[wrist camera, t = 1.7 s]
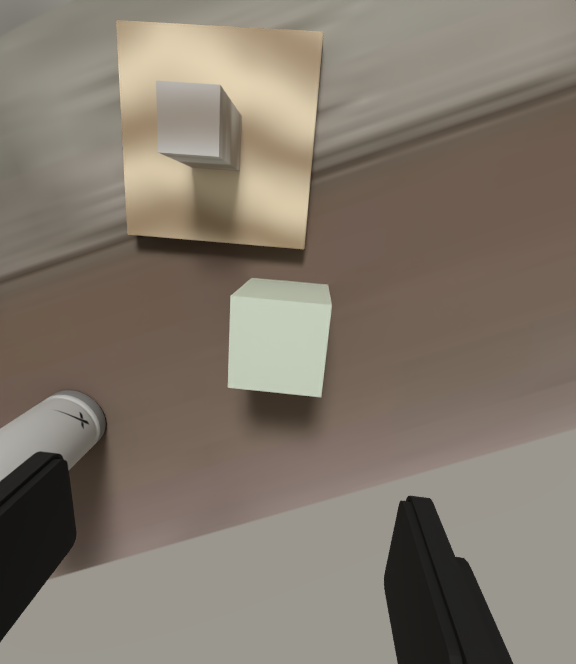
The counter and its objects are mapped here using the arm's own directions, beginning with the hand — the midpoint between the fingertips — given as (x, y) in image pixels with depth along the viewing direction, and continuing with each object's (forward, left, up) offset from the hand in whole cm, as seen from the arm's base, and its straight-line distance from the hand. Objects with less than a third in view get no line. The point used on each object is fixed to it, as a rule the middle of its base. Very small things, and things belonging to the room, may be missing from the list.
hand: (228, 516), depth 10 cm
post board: (+13, +6, -22) cm, 26 cm away
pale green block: (0, 0, -22) cm, 22 cm away
